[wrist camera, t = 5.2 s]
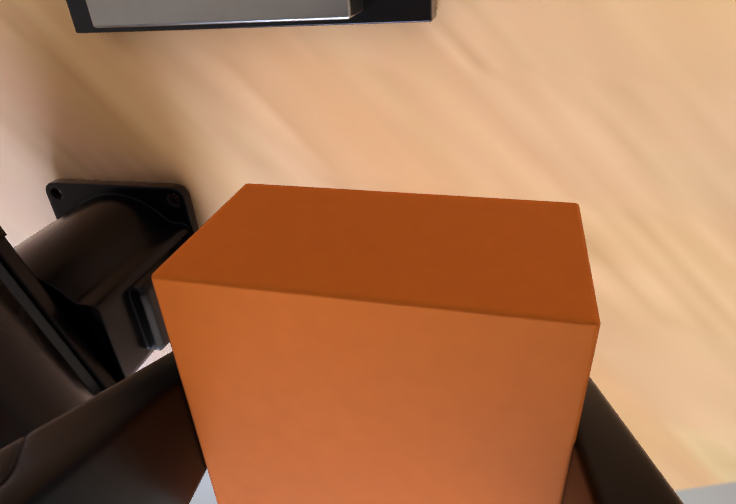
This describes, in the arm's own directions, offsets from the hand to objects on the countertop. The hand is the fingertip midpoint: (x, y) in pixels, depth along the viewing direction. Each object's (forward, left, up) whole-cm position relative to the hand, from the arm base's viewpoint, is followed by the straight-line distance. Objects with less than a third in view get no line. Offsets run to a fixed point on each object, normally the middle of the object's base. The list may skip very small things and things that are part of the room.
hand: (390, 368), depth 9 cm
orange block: (0, 0, -1) cm, 1 cm away
